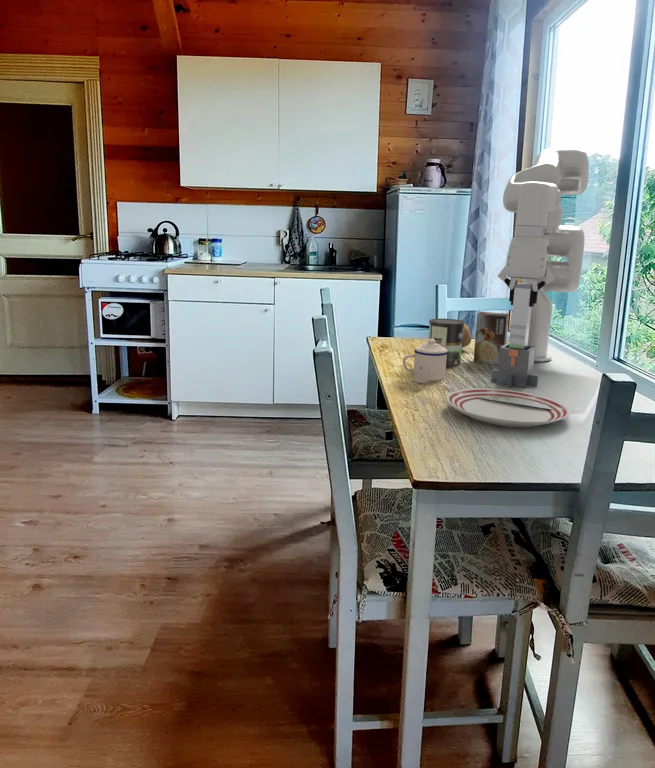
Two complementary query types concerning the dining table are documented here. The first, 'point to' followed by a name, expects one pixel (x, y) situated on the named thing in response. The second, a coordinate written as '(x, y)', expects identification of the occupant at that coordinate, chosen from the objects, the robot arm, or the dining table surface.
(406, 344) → the dining table surface
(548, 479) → the dining table surface
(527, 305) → the column
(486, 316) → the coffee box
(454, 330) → the coffee can
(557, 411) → the dinner plate
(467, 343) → the natural sponge
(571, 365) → the dining table surface
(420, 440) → the dining table surface
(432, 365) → the teacup with lid
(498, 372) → the stand base
